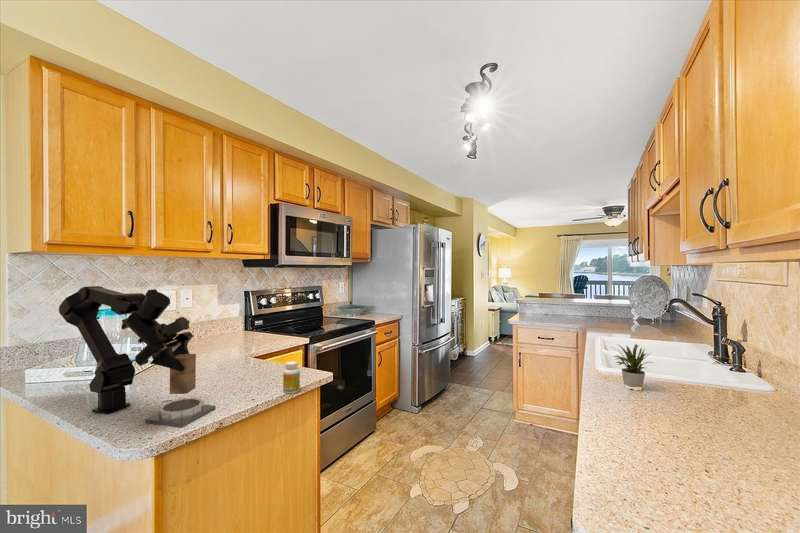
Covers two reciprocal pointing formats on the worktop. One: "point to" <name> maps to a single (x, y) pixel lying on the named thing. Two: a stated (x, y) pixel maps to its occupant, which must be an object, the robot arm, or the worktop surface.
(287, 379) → the supplement bottle
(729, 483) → the worktop surface
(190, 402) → the duct collar
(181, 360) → the upright wooden block
